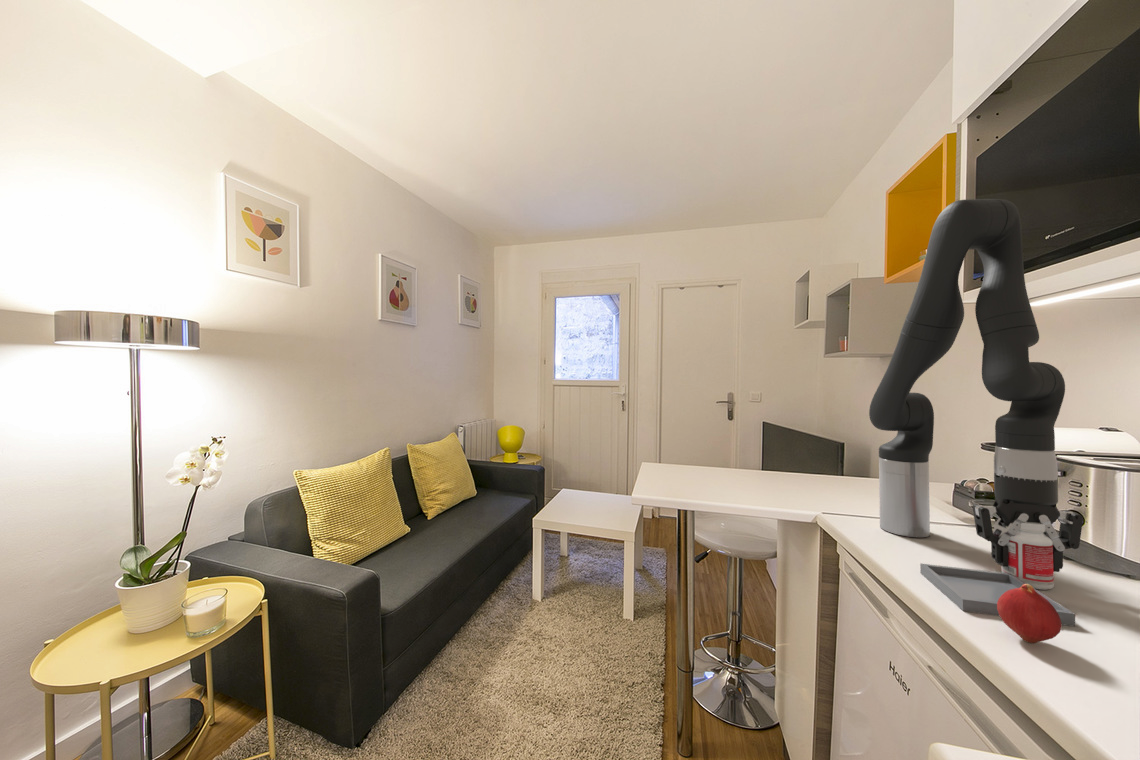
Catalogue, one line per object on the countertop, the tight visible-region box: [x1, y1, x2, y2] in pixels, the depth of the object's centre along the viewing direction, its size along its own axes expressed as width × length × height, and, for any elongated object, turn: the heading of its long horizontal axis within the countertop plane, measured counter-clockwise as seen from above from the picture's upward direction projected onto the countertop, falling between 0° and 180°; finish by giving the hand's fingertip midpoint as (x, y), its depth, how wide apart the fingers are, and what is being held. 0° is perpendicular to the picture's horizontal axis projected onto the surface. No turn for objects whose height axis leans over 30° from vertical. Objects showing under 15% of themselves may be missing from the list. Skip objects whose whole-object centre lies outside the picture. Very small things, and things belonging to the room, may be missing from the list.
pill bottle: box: [1000, 522, 1055, 591], centre depth 71 cm, size 6×6×11 cm
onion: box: [997, 584, 1063, 644], centre depth 55 cm, size 6×6×8 cm
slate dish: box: [919, 562, 1076, 627], centre depth 66 cm, size 13×13×2 cm
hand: (1026, 567), depth 71 cm, fingers closed on pill bottle, 6 cm apart
